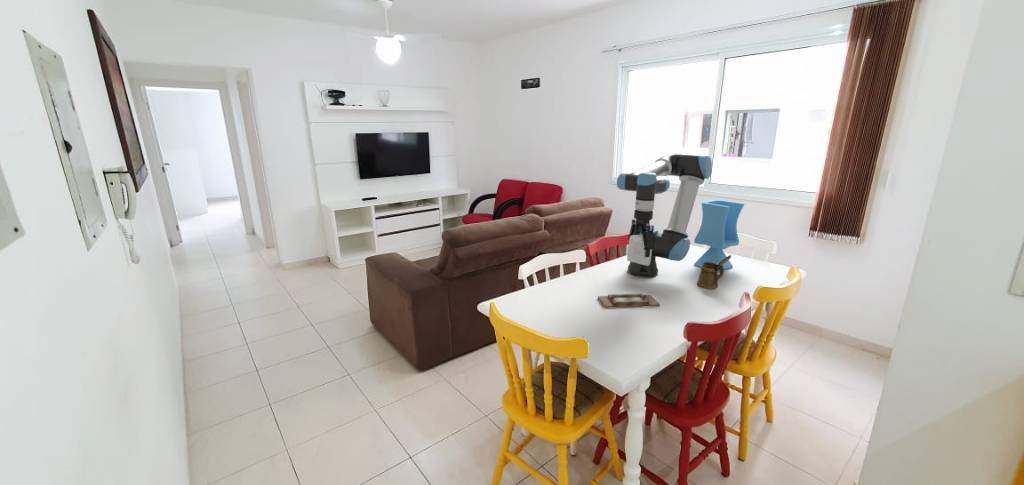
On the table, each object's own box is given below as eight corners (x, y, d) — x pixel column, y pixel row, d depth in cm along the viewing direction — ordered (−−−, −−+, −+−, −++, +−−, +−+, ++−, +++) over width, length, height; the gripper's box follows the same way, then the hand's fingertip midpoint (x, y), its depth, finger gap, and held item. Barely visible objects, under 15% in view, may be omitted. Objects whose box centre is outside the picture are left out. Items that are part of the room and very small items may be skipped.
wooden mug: (720, 294, 183) (726, 256, 178) (692, 285, 193) (697, 249, 188) (730, 290, 188) (736, 253, 183) (703, 281, 198) (707, 246, 193)
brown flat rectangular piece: (604, 308, 170) (604, 301, 170) (597, 298, 180) (598, 292, 179) (659, 306, 171) (660, 300, 171) (650, 296, 181) (651, 290, 180)
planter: (718, 273, 208) (728, 207, 199) (691, 265, 221) (699, 202, 211) (735, 267, 217) (744, 203, 207) (707, 260, 229) (715, 199, 219)
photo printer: (651, 264, 174) (655, 236, 171) (647, 266, 171) (650, 238, 168) (630, 259, 181) (632, 232, 178) (625, 261, 178) (627, 234, 175)
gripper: (623, 205, 180) (618, 253, 185) (650, 214, 159) (644, 268, 164) (638, 205, 181) (633, 252, 187) (667, 214, 160) (661, 267, 166)
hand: (638, 260), depth 176 cm, fingers closed on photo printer, 10 cm apart
